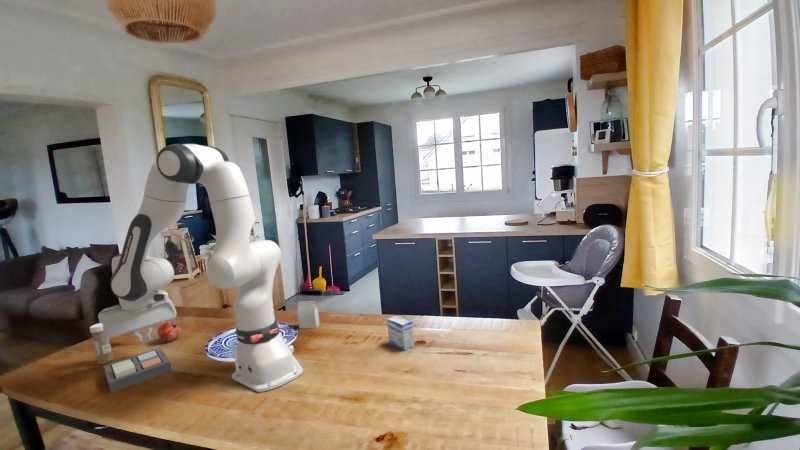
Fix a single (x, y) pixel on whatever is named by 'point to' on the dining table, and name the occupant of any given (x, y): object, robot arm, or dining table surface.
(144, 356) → the key bluegrey
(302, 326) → the light grey tapered block
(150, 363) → the key terracotta
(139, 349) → the dining table surface
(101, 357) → the sprinkles bottle
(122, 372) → the key offwhite
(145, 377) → the keypad
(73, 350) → the dining table surface
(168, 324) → the pomegranate
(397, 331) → the medicine box
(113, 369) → the key sage
